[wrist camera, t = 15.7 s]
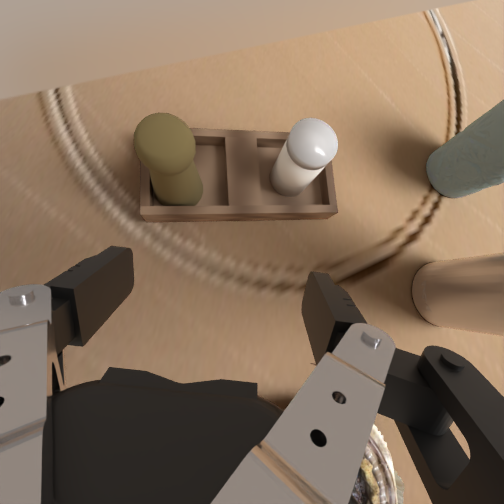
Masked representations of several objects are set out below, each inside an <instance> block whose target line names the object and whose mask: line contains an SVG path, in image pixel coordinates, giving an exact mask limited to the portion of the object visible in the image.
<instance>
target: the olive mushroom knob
mask: <svg viewBox="0 0 504 504" xmlns="http://www.w3.org/2000/svg"><path fill="white" fill-rule="evenodd" d="M134 148H135V151H136V153H137V156H138V157H139V159H140V160H141V161H142V163H143V164H144V165H145V166H146V167H147V168H149V172H150V176H151V181H152V186H153V191H154V194H155V197H156V199H157V200H158V201H159V203H160V204H161V205H163V206H195V205H197V203H198V202H199V201H200V199H201V197H202V194H203V184H202V181H201V178H200V176H199V173H198V171H197V168H196V166H195V163H194V160H193V159H194V156H195V153H196V145H195V139H194V136H193V133H192V131H191V129H190V128H189V127H188V126H187V124H186V123H185V122H184V121H182V120H181V119H179V118H178V117H176V116H174V115H171V114H168V113H155V114H151V115H149V116H147V117H145V118H144V119H143V120H142V121H141V122H140V123H139V124H138V126H137V128H136V130H135V132H134Z"/></svg>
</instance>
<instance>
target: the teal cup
mask: <svg viewBox="0 0 504 504" xmlns="http://www.w3.org/2000/svg"><path fill="white" fill-rule="evenodd" d="M426 167H427V168H426V170H427V175H428V178H429V180H430V183H431V184H432V186H433V187H434V188H435V189H436V190H437V191H438V192H439V193H440V194H442V195H444V196H446V197H450V198H459V197H463V196H467V195H470V194H473V193H475V192H478V191H480V190H482V189H484V188H488V187H491V186H495V185H499V184H501V183H503V182H504V100H502V101H501V102H500V103H499V104H497V105H496V106H495V107H493V108H492V109H491V110H489V111H488V112H487V113H485V114H484V115H482V116H481V117H480V118H478V119H477V120H475V121H474V122H473V123H471V124H470V125H469V126H467V127H466V128H465V129H464V130H463V131H462V132H460V133H458V134H457V135H456V136H454V137H453V138H452V139H450V140H449V141H448V142H446V143H445V144H444V145H442V146H441V147H439V148H438V149H437V150H435V151H434V152H433V153H432V154H431V155H430V156H429V158H428V160H427V163H426Z"/></svg>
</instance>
